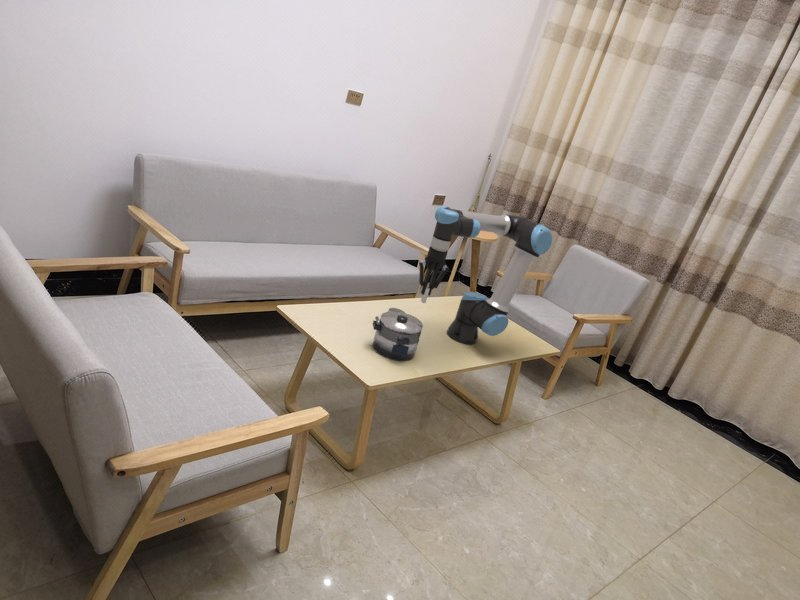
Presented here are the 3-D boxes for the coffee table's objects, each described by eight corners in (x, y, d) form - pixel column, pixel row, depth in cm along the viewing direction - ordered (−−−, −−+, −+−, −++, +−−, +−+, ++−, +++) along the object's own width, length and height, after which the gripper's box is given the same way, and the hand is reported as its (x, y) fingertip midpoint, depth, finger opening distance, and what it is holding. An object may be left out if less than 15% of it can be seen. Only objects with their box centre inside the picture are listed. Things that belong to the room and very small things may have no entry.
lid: (417, 319, 236) (419, 311, 235) (425, 337, 220) (427, 329, 219) (373, 313, 232) (375, 305, 231) (378, 331, 216) (380, 323, 214)
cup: (398, 337, 244) (404, 317, 240) (381, 331, 245) (386, 311, 241) (401, 330, 251) (407, 311, 248) (385, 325, 252) (390, 306, 249)
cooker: (409, 341, 243) (416, 317, 239) (419, 367, 222) (427, 341, 218) (365, 333, 238) (371, 308, 234) (370, 359, 217) (378, 333, 213)
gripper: (452, 248, 220) (436, 300, 229) (421, 242, 217) (406, 295, 225) (456, 254, 213) (439, 308, 222) (425, 248, 210) (409, 302, 219)
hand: (423, 301), depth 224 cm, fingers closed
